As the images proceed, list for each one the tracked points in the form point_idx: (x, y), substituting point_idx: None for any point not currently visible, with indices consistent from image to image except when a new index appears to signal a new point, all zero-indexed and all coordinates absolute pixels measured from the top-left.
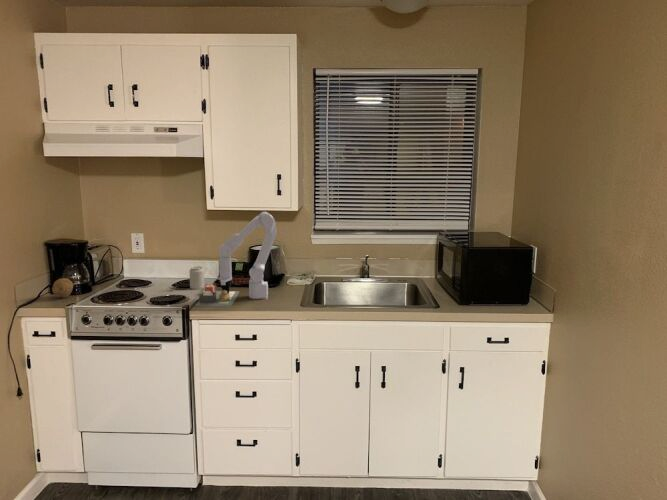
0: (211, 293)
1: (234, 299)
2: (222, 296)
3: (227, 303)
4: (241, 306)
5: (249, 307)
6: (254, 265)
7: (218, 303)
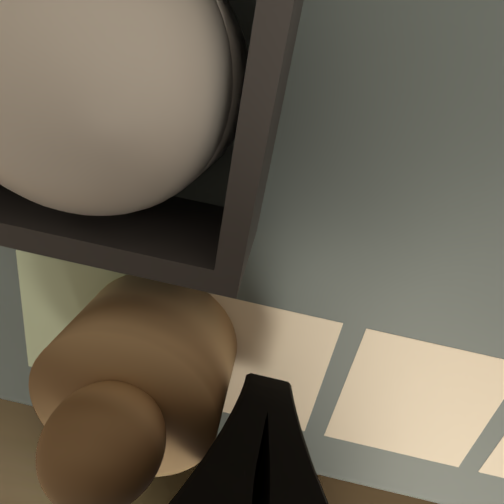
0: (11, 190)
1: None
2: (38, 369)
3: (22, 358)
4: (24, 447)
5: (3, 491)
6: None
7: (6, 254)
